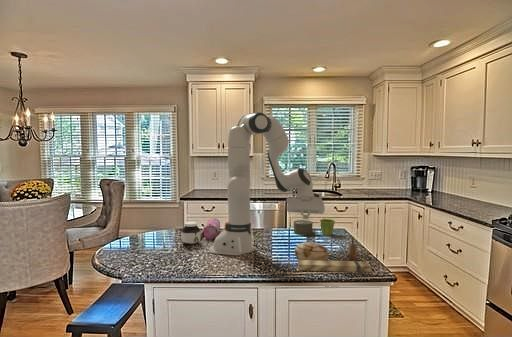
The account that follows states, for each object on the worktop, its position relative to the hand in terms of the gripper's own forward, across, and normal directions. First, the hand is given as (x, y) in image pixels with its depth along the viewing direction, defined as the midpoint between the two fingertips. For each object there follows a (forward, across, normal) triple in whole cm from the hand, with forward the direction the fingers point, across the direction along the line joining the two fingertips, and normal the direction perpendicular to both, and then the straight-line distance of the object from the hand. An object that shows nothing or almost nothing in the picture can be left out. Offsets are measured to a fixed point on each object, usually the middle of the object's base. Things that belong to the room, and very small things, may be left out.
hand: (305, 218), depth 168 cm
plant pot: (-10, +16, +32) cm, 37 cm away
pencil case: (-4, -54, +29) cm, 62 cm away
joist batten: (+32, +10, -11) cm, 35 cm away
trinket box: (+25, +2, -2) cm, 25 cm away
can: (-12, +2, +35) cm, 37 cm away
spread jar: (+9, -63, +17) cm, 66 cm away
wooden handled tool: (+26, +20, -5) cm, 33 cm away
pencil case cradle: (-4, -54, +30) cm, 61 cm away
